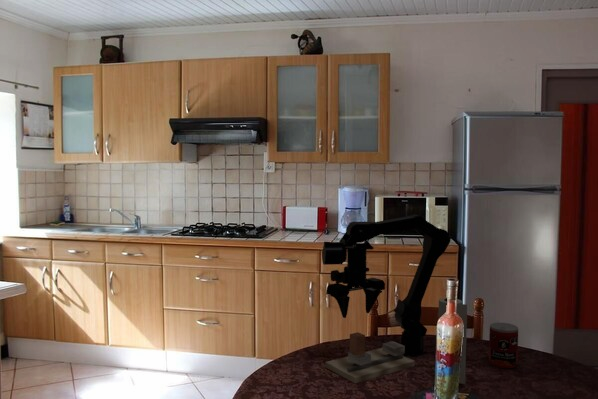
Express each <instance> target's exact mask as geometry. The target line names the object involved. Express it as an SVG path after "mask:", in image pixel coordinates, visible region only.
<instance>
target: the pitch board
mask: <svg viewBox="0 0 598 399" xmlns="http://www.w3.org/2000/svg"><path fill="white" fill-rule="evenodd" d="M365 352H366V353H368V354H370V355H371V363H368V364H364V365H360V366H359V365H355V363H353V362H351V361H349V360H348V356H345V357H339V358H335V359H332V360H329V361H325V364H324V365H325V368H326V369H328V370H330V371H332V372H333V373H335V374H337V375H338V376H340V377H343V378H344V379H346V380H348V381H350V382H351V383H353V384H357V383H361V382H365V381H368V380H369V381H370V380H372V379H375V378H379V377H381V376H382V377H383V376H385V375H389V374H392V373H396V372H399V371H402V370H405V369H409V368H413V367H416V365H415V364H416V360H414V359H412V358H409V357H406V356H404V354H406V353H405V346H403V345H401V343H398V342H396V341H393V340H391V341H387V342H383V343H382V347H381V348H380V347H379V348H376V349H372V350H368V351H365Z"/></svg>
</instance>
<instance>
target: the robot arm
mask: <svg viewBox="0 0 598 399" xmlns="http://www.w3.org/2000/svg"><path fill="white" fill-rule="evenodd" d="M408 230H415V231H416V232H418V234H420V236H422V237H423V239H422V240H423V241H422V256H421V257H420V261H419V263H418V266H417V268H416V272H415V274H414V276H413V278H412V282H411V285H410V287H409V290H408V291H407V292H408V293H407V295H406V297H404V299H403V300H402V299H400V298H399V299H398V300H397V303H396V306H395V308H394V309H393V312H394V319H395V321H396V322H397V324H398V325H399V326H400V328H401V329H402V330H403V331H402V332H401V338H400V344H401V345H403V346H405V354H406V355H409V356H411V357H416V356H419V355H422V354H426V353H428V350H426V349H424V338H425V336H426V334H427V332H428V329H427V327H426V326H425V325H423V323H422V322H421V317H422V303H423V302H422V301H423V299H424V296H425V293H426V291H427V289H428V285H429V283H430V280H431V279H432V278H431V277H432V275H433V273H434V269H435V266H436V264H437V261H438V260H439V258H440V257H442V255H443V254H444V253H445V252H446V250H447V248H448V246H449V245H450V244H451V238H452V237H451V235H450V233H449V232H448V231H447V230H446V229H443V228H439V227H437V226H435V225H434V224H433V223H431V222H429V221H428V220H426V219H425V218H424V217H423V216H422V215H419V214H411V215H408V216H402V217H401V216H400V217H397V218H390V219H385V220H379V221H352V222H349V223H348V225H347V226H346V229H345V232H344V234H343V235H342V237H341V238H340V240H339V241H324V242H323V247H322V251H321V261H322V265H324V266H327V265H329V266H330V265H332V266H333V265H344V263H347V264H346V265H345V266H344V267H343V271H339V269H334V270H330V281H331V282H335V283H329V284H328V285H327V286H326V295H329V296H330V297H333V298H334V299H335V300H336V302H337V304H338V308H339V310H340V312H341V313H340V314H341V316H342V318H344V319H346V318H347V316H348V312H349V303H350V296H349V294H350V292H353V291H359V290H363V292H364V295H365V313H366V314H370V312H371V310H372V309H373V306H374V304H375V302H376V301H377V299H378V298H379V296H380V295H381V293H382V294H383V291H384V290H386V283H385V281H384V279H380V278H377V277H370V278H367V272H370V267H367V254H368V253H367V252H368V250H374V246H373V245H371V244H370V242H369V241H370V240H372V239H374V238H376V237H378V236H382V235H387V234H392V233H399V232H403V231H408Z"/></svg>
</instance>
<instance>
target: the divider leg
mask: <svg viewBox="0 0 598 399" xmlns="http://www.w3.org/2000/svg"><path fill="white" fill-rule="evenodd" d="M365 343H366V335H365V334H364V333H361V332H354V333H349V347H348V348H349V351H348V352H347V357H348V360H349V361H351V362H353V363H355V365H359V366H360V365H364V364H368V363H371V355H370V354H368V353H366V352H367V351H366V350H365V349H366V344H365Z"/></svg>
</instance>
